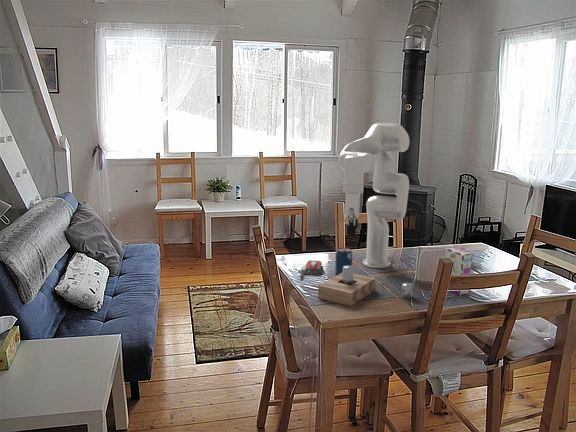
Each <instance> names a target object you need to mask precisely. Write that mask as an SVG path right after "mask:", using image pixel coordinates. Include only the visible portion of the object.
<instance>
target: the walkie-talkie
mask: <svg viewBox="0 0 576 432" xmlns="http://www.w3.org/2000/svg"><path fill="white" fill-rule="evenodd" d="M322 265H323V263H322V261H320V260H308V261H306V265H303V266H301V268H300V275H299V276H300V277H299V278H300V279H303V278H304V275H314V276H315V275H317V276H318V275H319V276H320V275H321V273H322V268H323V267H322Z"/></svg>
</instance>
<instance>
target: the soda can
mask: <svg viewBox="0 0 576 432" xmlns="http://www.w3.org/2000/svg"><path fill="white" fill-rule="evenodd" d="M345 265H350V266H353V251H352V249H351V248H349V247H339V248H337V250H336V253H335V267H334V269H335V270H334V271H335V276H337V275H339V274H340V273H342V272H343V266H345Z"/></svg>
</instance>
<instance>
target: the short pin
mask: <svg viewBox="0 0 576 432" xmlns="http://www.w3.org/2000/svg"><path fill="white" fill-rule="evenodd" d="M413 288H414V284H413V283H411V282H402V283H401V297H402V298H403V299H407V300H409V299H413Z"/></svg>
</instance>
